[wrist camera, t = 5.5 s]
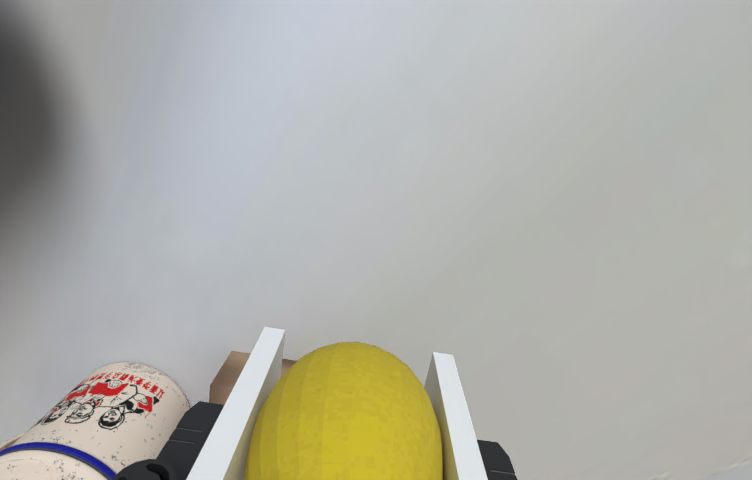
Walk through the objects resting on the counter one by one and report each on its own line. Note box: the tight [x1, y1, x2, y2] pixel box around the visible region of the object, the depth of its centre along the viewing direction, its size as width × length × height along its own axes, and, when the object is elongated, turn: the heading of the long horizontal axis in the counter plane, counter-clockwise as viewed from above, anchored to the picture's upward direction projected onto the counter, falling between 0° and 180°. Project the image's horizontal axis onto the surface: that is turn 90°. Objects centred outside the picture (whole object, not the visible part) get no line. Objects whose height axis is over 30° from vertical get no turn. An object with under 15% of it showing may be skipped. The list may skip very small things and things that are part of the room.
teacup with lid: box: [0, 362, 190, 480], centre depth 27 cm, size 12×9×12 cm
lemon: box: [244, 342, 443, 480], centre depth 12 cm, size 6×6×8 cm
